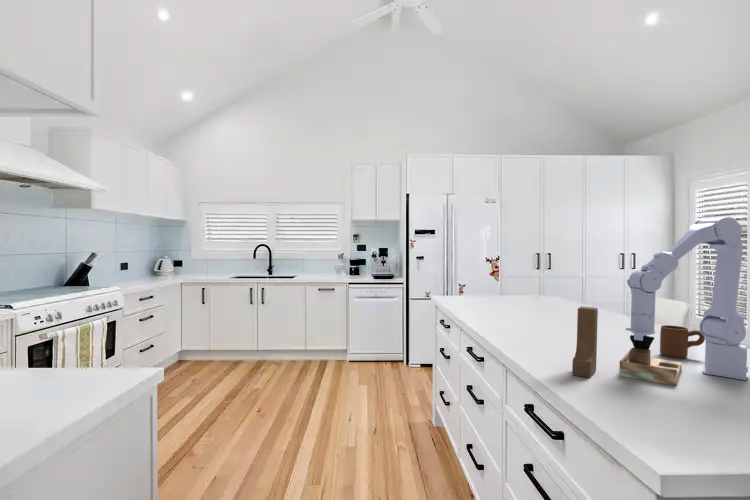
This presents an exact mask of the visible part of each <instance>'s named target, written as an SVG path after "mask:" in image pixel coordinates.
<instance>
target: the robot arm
mask: <svg viewBox="0 0 750 500" xmlns="http://www.w3.org/2000/svg"><path fill="white" fill-rule="evenodd" d="M742 227H743V225H741V224H740V223H739V222H738V221H737V220H736V219H734V218H733V217H731V216H724V217H718V218H715V217H714V218H700V219H697V220H696V221H694V223H692V224H690V226H689V227H688V231H686V232H685V233H684V234H683V236H681V237H680V239H678V240H677V241H676V242H675V243H674V244H673V246H672V247H670V248H669V249H668V250H667V251H659V252H656V253H654V254H653V258H651V260H650V261H648V262H647V263H646V264H643V265H642V266H641V269H639V270H635V271H633V272H632V273H631V274H630V275H629V278H628V279H626V281H627V282H626V283H627V285H628V287H629V289H630V295H631V301H630V304H631V306H630V326H626V327H625V331H627V332H628V331H630V332H631V333H632V334H631V335H630V336H629V340H630V341H631V343H632V346H633V348H639V349H646V350H650V348H651V345H652V343H653V341H654V340H655V337H654V336H651V335H655V334H656V330H655V324H656V323H655V320H656V319H655V318H656V291H659V290H660V288H661V287H662V283H663V281H664V279H665V278H666V277H668V276H669V275H670V274H671V273H672V272H674V271H675V269H677V268H678V266H679V260H680V259H681V258H683V257H684V256H685V255H687V254H688V253H690V251H692V250H694V248H696V247H697V246H698V245H700V244H701V243H705V244H707V245H708V246H710V247H711V248H713V249H714V251H715V252H716V253H717V254H716V263H715V272H714V281H713V291H712V297H711V306H709V308H708V309H706V310H705V311H704V312H703V316H702V319H701V321H700V322H699V327H698V328H699V331H700V332H701V333H702V335H704V339H705V346H704V347H705V349H704V350H705V351H704V352H705V353H704V366H702V374H706V375H713V376H719V377H724V378H731V379H738V380H745V381H746V380H747V373H748V372H749V366H748V365H747V364H748V363H747V362H748V347H747V345H744V344H741V343H742V342H743V341H744V339H745V338H746V334H747V330H746V327H745V318H744V316H743V315H742V314H741V313H740V312H739V311H738V310H737V303H738V294H739V287H740V286H739V285H740V284H739V283H740V276H741V268H742V260H743V250H744V249H743V248H744V247H743V242H742V238H741V235H742V229H743V228H742Z"/></svg>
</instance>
